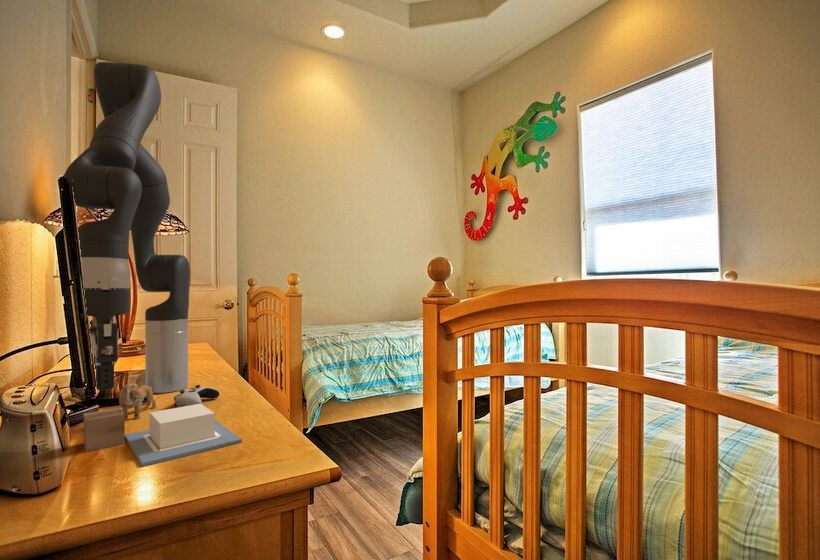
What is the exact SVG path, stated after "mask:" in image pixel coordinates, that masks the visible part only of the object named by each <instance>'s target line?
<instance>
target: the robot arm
mask: <svg viewBox="0 0 820 560" xmlns="http://www.w3.org/2000/svg"><path fill="white" fill-rule="evenodd" d="M93 79H94V85H95V89H96V95H97V97H98V101H99V104H100V108H101V111H102V114H103V117H104V119H102V121H100V122H99V123H98V124H97V126H96V128H95V129H94V132H93V135H92V137H91V140H90V144H89V147H88V148H86V149H85V150H84V151H83V152H82V153H81V154H79V156H76V158H74V160H73V161H72V162H71V163H70V164H69V165H68V167H67V169H66V170H65V172H64V173H63V176H62V178H63V177H64V178H67V179H66V180H68V181H67V182H69V183H71V185H72V187H73V192H74V199H75V203H76V205H75V206H76V207H78V208H83V209H100V210H101V209H102V210H103V209H104V210H113V211H112V212H111V214H110V215H109V216H108V217H107V218H104V219H100V220H96V221H87V222H83V223H81V224H79V225H78V227H77V229H78V232H79V240H80V249H81V257H82V258H81V259H82V270H83V282H84V290H85V299H86V307H87V315H88V316H87V317H92V320H91V319H90V320H89V322H90V324H91V327H90V326H89V327H90V329H89V331H90V332H89V335H90V340H91V353H92V354H93V355H94V359H93V360H94V364H95V369H96V382H95V388H96V390H97V391H107V390H112V389H113V388H114V387H115V365H116V363H117V362H118V360H119V356H118V349H119V341H118V340H119V339H118V337H119V332H120V331H119V325H118V323H117V322H114V317H115V316H124V315H128V314H130V312H131V268H130V262H129V261H130V258H129V257H130V255H129V253H130V252H129V251H130V249H129V248H130V245H129V244H130V235H131V240H132V246H133V247H132V248H133V256H134V264H135V271H136V277H137V281H138V284H139V286H140V287H141V289H142V290H143V291H144V292H147V293H149V292H150V293H169V295H168V298H167V299H165V300H164V301H163V302H161V303H159V304H155V305H154V306H150V307H148V308H146V310H145V312H144V317H145V318H144V320H145V321H144V322H145V323H144V325H145V327H144V328H145V329H144V333H145V340H144V341H145V350H144V352H145V356H144V357H145V361H144V362H145V363H144V365H145V367H144V368H145V369H144V373H145V375H144V376H145V379H144V380H145V382H144V383H145V384H144V385H147V386H150V387H151V388H152V391H153V394H163V393H171V392H172V393H173V392H177V391H182V390H185V389H187V388H189V308H190V289H191V288H190V286H191V267H190V262H189V259H188V258H187V257H186V256H185V255H182V254H156V252H155V251H156V250H155V237H156V233H157V231H158V229H159V227H160V225H161V223H162V222H163V219H164V217H165V216H166V215H167V212H168V210H169V207H170V205H171V204H170V203H171V197H170V192H169V191H170V190H169V185H168V180H167V179H168V178H167V175H166V173H165V171H164V169H163V168H162V166H161V164H159V162H158V161H157V160H156V159H155V158H154V157H153V155H152V154H151V153H150V152H149V151H148V150H147V149H146V147H144V146H143V143H142V139H143V137H144V135H145V133H146V132H147V131H148V128H149V127H150V125H151V124H152V122H153V120H154V118H155V117H156V115H157V113H158V112H159V109H160V107H161V102H162V91H161V87H160V86H161V85H160V81H159V77H158V75H157V74H156V72H155V71H154V70H153V68H151V67H150V66H147V65H145V64H140V63H131V62H130V63H125V62H111V61H100V62H97V63H96V64H95V65H94V68H93ZM68 177H70V178H71V179H72V180H73V181H72V180H71V179H70V178H68ZM69 179H70V180H69Z"/></svg>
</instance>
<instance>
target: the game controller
mask: <svg viewBox="0 0 820 560" xmlns="http://www.w3.org/2000/svg"><path fill="white" fill-rule="evenodd" d="M194 386H195V387H192V388H190V389H186V390H185V389H182V390H179V393H177V394H175V396H173V401H174V408H178V407H184V406H190V405H195V404H202V405H203V401H202V399H210V400H211V399H213V400H214V399H217V398H218V397H219V396H220V395H221V394H220V391H219V390H218V389H217V388H216V387H210V386H205V387H203V386H201V384H197V385H194Z"/></svg>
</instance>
